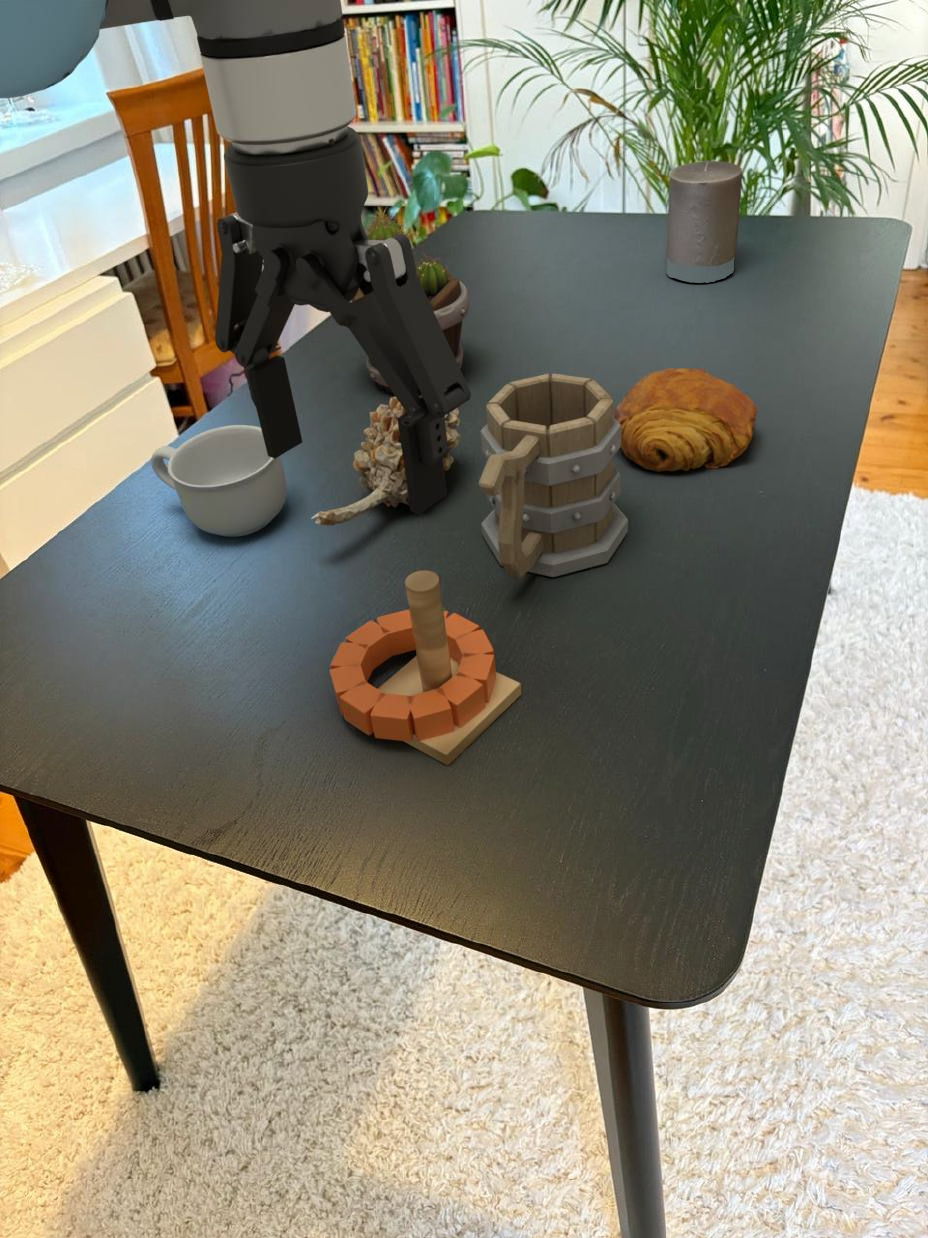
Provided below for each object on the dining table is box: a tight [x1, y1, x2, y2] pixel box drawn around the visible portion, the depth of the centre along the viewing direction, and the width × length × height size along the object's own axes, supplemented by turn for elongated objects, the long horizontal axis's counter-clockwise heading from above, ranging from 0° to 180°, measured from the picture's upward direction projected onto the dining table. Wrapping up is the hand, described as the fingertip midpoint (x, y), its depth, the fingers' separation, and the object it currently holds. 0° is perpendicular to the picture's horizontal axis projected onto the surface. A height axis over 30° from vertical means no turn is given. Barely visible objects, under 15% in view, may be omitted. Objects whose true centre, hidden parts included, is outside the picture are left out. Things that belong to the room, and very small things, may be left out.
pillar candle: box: [666, 160, 743, 267], centre depth 135 cm, size 10×10×15 cm
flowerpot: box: [350, 205, 470, 395], centre depth 115 cm, size 14×15×20 cm
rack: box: [377, 570, 522, 766], centre depth 72 cm, size 9×9×12 cm
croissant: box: [613, 367, 759, 473], centre depth 101 cm, size 14×16×8 cm
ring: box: [329, 608, 497, 742], centre depth 75 cm, size 12×12×2 cm
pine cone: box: [310, 394, 462, 527], centre depth 95 cm, size 22×10×10 cm, turn 155°
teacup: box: [150, 424, 288, 538], centre depth 97 cm, size 14×11×8 cm
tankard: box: [478, 373, 629, 579], centre depth 85 cm, size 20×13×15 cm, turn 152°
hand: (353, 474), depth 66 cm, fingers open, 13 cm apart
